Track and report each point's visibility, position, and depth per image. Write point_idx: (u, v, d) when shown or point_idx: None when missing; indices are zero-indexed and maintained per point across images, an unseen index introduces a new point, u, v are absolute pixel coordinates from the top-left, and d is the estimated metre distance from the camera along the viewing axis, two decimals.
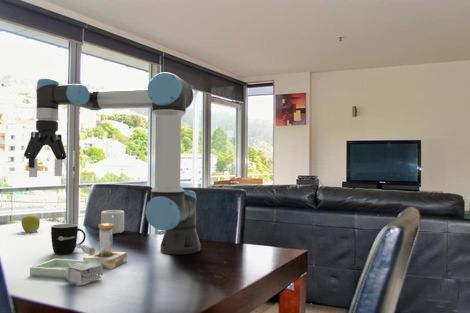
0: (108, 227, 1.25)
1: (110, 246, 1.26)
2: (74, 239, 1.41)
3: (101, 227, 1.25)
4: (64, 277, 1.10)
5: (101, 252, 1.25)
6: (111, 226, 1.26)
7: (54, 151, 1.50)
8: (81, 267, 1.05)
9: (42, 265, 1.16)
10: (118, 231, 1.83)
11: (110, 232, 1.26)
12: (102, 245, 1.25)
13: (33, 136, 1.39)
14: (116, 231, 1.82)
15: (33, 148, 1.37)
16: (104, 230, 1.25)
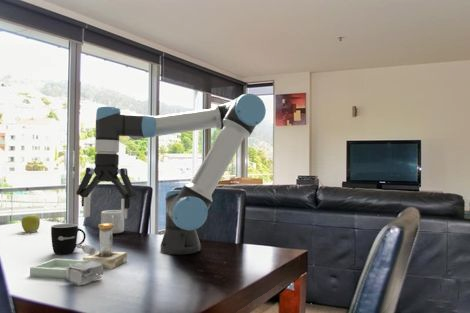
0: (108, 227, 1.25)
1: (110, 246, 1.26)
2: (74, 239, 1.41)
3: (101, 227, 1.25)
4: (64, 277, 1.10)
5: (101, 252, 1.25)
6: (111, 226, 1.26)
7: None
8: (81, 267, 1.05)
9: (42, 265, 1.16)
10: (118, 231, 1.83)
11: (110, 232, 1.26)
12: (102, 245, 1.25)
13: None
14: (116, 231, 1.82)
15: (81, 185, 1.28)
16: (104, 230, 1.25)
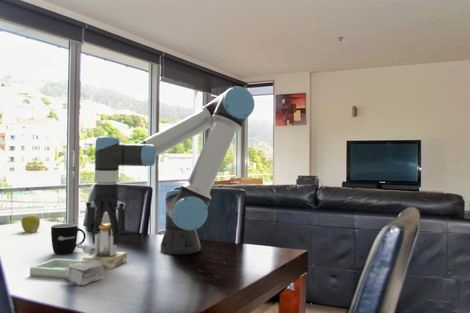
0: (108, 227, 1.25)
1: None
2: (74, 239, 1.41)
3: (101, 227, 1.25)
4: (64, 277, 1.10)
5: (101, 252, 1.25)
6: None
7: None
8: (82, 267, 1.05)
9: (42, 265, 1.16)
10: None
11: (110, 232, 1.26)
12: (102, 245, 1.25)
13: None
14: None
15: (88, 221, 1.27)
16: (104, 230, 1.25)
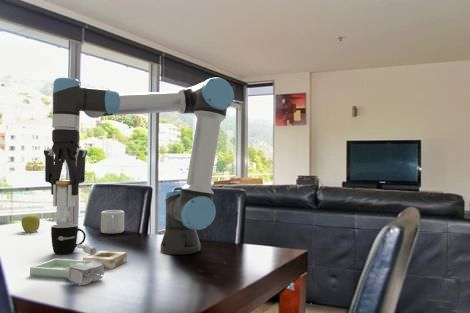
0: (66, 183, 1.15)
1: None
2: (74, 239, 1.41)
3: (58, 182, 1.15)
4: (64, 277, 1.10)
5: (58, 210, 1.15)
6: (69, 182, 1.16)
7: None
8: (82, 267, 1.05)
9: (42, 265, 1.16)
10: (118, 231, 1.83)
11: None
12: (59, 202, 1.15)
13: None
14: (116, 231, 1.82)
15: (46, 171, 1.17)
16: (61, 186, 1.15)
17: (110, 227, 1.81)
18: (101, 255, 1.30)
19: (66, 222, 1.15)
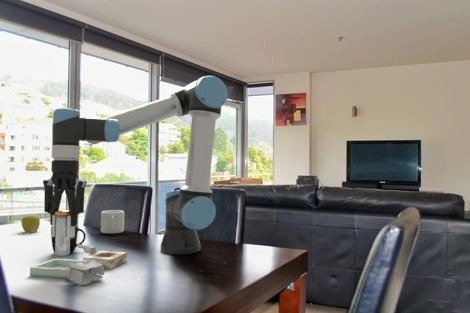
0: (65, 213, 1.15)
1: None
2: (74, 239, 1.41)
3: (57, 213, 1.14)
4: (64, 277, 1.10)
5: (57, 241, 1.15)
6: (68, 212, 1.16)
7: None
8: (82, 267, 1.05)
9: (42, 265, 1.16)
10: (118, 231, 1.83)
11: None
12: (58, 233, 1.15)
13: None
14: (116, 231, 1.82)
15: (46, 201, 1.17)
16: (60, 217, 1.15)
17: (110, 227, 1.81)
18: (101, 255, 1.30)
19: (65, 253, 1.15)
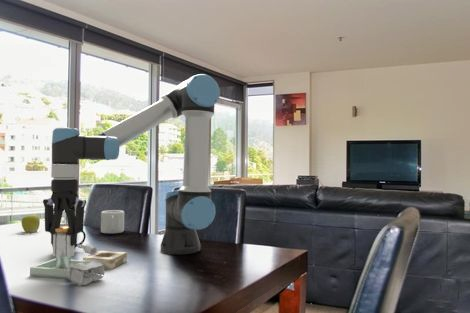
0: (65, 230, 1.15)
1: None
2: None
3: (57, 230, 1.14)
4: (64, 277, 1.10)
5: (58, 258, 1.15)
6: None
7: None
8: (83, 267, 1.05)
9: (42, 265, 1.16)
10: (118, 231, 1.83)
11: None
12: (59, 250, 1.15)
13: None
14: (116, 231, 1.82)
15: (46, 220, 1.17)
16: (61, 234, 1.15)
17: (110, 227, 1.81)
18: (101, 255, 1.30)
19: None
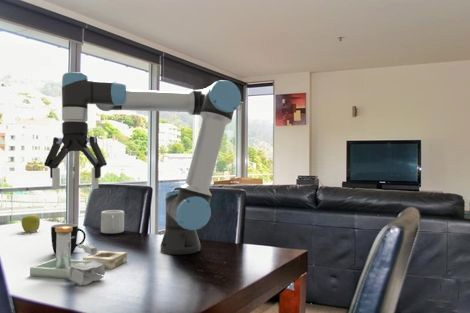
0: (65, 230, 1.15)
1: (68, 251, 1.16)
2: (74, 239, 1.41)
3: (58, 230, 1.14)
4: (64, 277, 1.10)
5: (58, 258, 1.15)
6: (69, 229, 1.16)
7: None
8: (83, 267, 1.05)
9: (42, 265, 1.16)
10: (118, 231, 1.83)
11: (68, 236, 1.16)
12: (59, 250, 1.15)
13: None
14: (116, 231, 1.82)
15: (49, 156, 1.22)
16: (61, 234, 1.15)
17: (110, 227, 1.81)
18: (101, 255, 1.30)
19: None
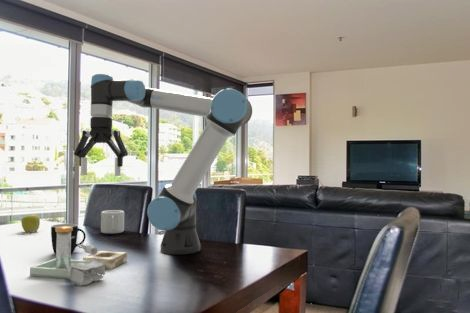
0: (66, 230, 1.15)
1: (69, 251, 1.16)
2: (74, 239, 1.41)
3: (58, 230, 1.14)
4: (64, 277, 1.10)
5: (58, 258, 1.15)
6: (69, 229, 1.16)
7: None
8: (83, 267, 1.05)
9: (42, 265, 1.16)
10: (118, 231, 1.83)
11: (68, 236, 1.16)
12: (59, 250, 1.15)
13: None
14: (116, 231, 1.82)
15: (78, 147, 1.41)
16: (61, 234, 1.15)
17: (110, 227, 1.81)
18: (101, 255, 1.30)
19: None
